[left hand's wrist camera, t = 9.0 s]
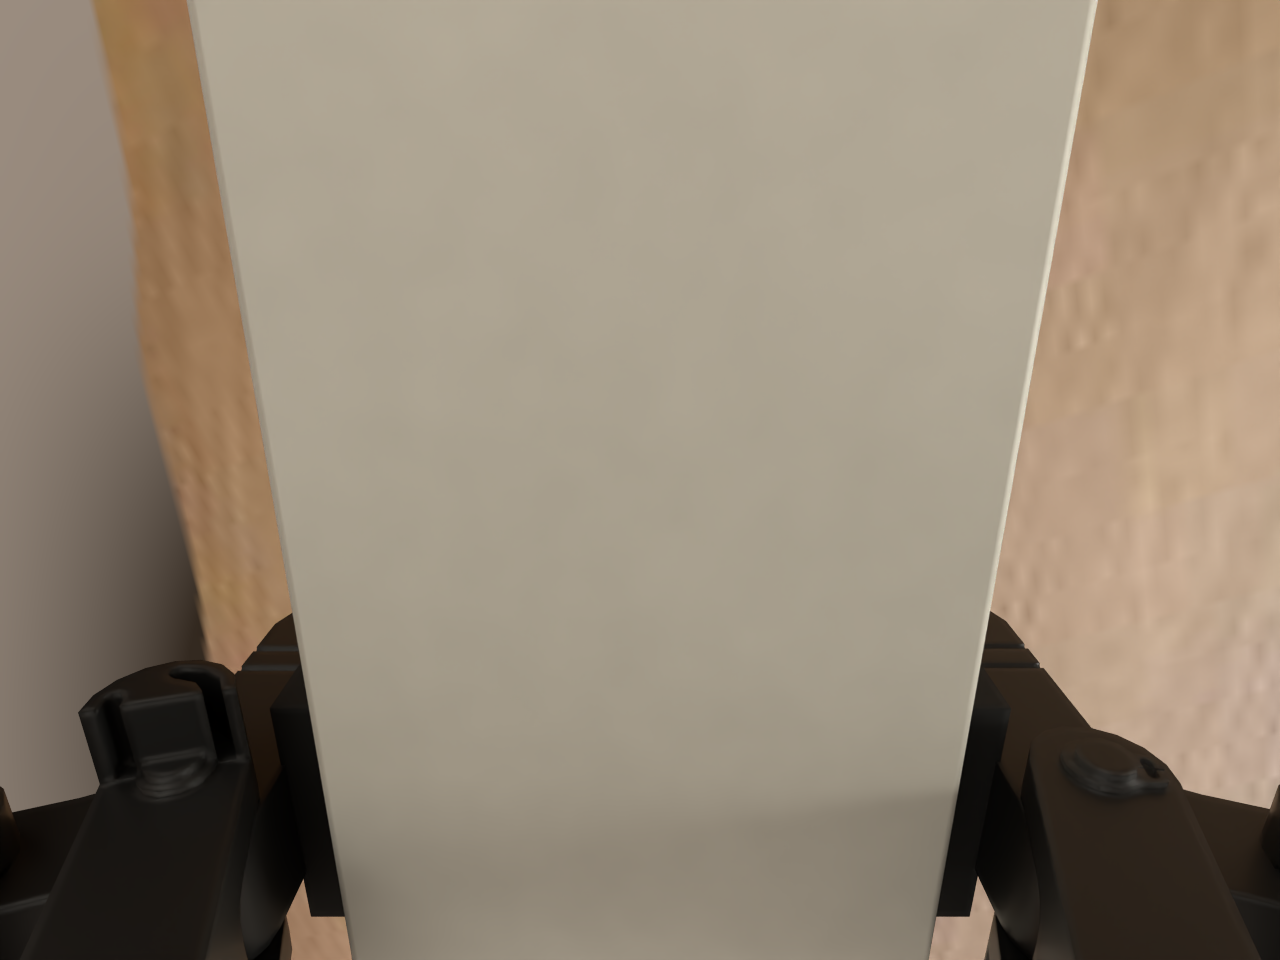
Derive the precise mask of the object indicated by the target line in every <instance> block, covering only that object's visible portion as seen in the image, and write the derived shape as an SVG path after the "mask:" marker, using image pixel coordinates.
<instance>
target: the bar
mask: <svg viewBox="0 0 1280 960" xmlns="http://www.w3.org/2000/svg"><path fill="white" fill-rule="evenodd" d="M1097 1H1098V0H187V4H188V10H189V16H190V22H191V28H192V33H193V39H194V45H195V51H196V57H197V62H198V68H199V74H200V80H201V86H202V91H203V97H204V103H205V109H206V115H207V120H208V126H209V132H210V138H211V143H212V149H213V155H214V161H215V167H216V172H217V178H218V184H219V190H220V196H221V201H222V207H223V213H224V219H225V225H226V230H227V236H228V242H229V248H230V254H231V259H232V265H233V271H234V277H235V283H236V288H237V294H238V300H239V306H240V311H241V317H242V323H243V329H244V335H245V340H246V346H247V352H248V358H249V364H250V369H251V375H252V381H253V387H254V393H255V398H256V404H257V410H258V416H259V422H260V427H261V433H262V439H263V445H264V450H265V456H266V462H267V468H268V474H269V479H270V485H271V491H272V497H273V503H274V508H275V514H276V520H277V526H278V532H279V537H280V543H281V549H282V555H283V561H284V566H285V572H286V578H287V584H288V590H289V595H290V601H291V607H292V613H293V618H294V624H295V630H296V636H297V642H298V647H299V653H300V659H301V665H302V671H303V676H304V682H305V688H306V694H307V700H308V705H309V711H310V717H311V723H312V729H313V734H314V740H315V746H316V752H317V758H318V763H319V769H320V775H321V781H322V786H323V792H324V798H325V804H326V810H327V815H328V821H329V827H330V833H331V839H332V844H333V850H334V856H335V862H336V868H337V873H338V879H339V885H340V891H341V897H342V902H343V908H344V914H345V920H346V925H347V931H348V937H349V943H350V949H351V954H352V960H929V954H930V948H931V943H932V937H933V931H934V926H935V920H936V914H937V909H938V903H939V897H940V892H941V886H942V880H943V875H944V869H945V863H946V858H947V852H948V846H949V841H950V835H951V829H952V824H953V818H954V812H955V807H956V801H957V795H958V790H959V784H960V778H961V773H962V767H963V761H964V756H965V750H966V744H967V739H968V733H969V727H970V722H971V716H972V710H973V705H974V699H975V693H976V688H977V682H978V676H979V670H980V665H981V659H982V653H983V648H984V642H985V636H986V631H987V625H988V619H989V614H990V608H991V602H992V597H993V591H994V585H995V580H996V574H997V568H998V563H999V557H1000V551H1001V546H1002V540H1003V534H1004V529H1005V523H1006V517H1007V512H1008V506H1009V500H1010V495H1011V489H1012V483H1013V478H1014V472H1015V466H1016V461H1017V455H1018V449H1019V444H1020V438H1021V432H1022V427H1023V421H1024V415H1025V410H1026V404H1027V398H1028V393H1029V387H1030V381H1031V376H1032V370H1033V364H1034V359H1035V353H1036V347H1037V342H1038V336H1039V330H1040V325H1041V319H1042V313H1043V308H1044V302H1045V296H1046V291H1047V285H1048V279H1049V274H1050V268H1051V262H1052V256H1053V251H1054V245H1055V239H1056V234H1057V228H1058V222H1059V217H1060V211H1061V205H1062V200H1063V194H1064V188H1065V183H1066V177H1067V171H1068V166H1069V160H1070V154H1071V149H1072V143H1073V137H1074V132H1075V126H1076V120H1077V115H1078V109H1079V103H1080V98H1081V92H1082V86H1083V81H1084V75H1085V69H1086V64H1087V58H1088V52H1089V47H1090V41H1091V35H1092V30H1093V24H1094V18H1095V13H1096V7H1097Z"/></svg>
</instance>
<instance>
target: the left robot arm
mask: <svg viewBox="0 0 1280 960" xmlns="http://www.w3.org/2000/svg"><path fill="white" fill-rule="evenodd" d="M78 714H79V717H80V720H81V723H82V726H83V730H84V733H85V737H86V740H87V743H88V746H89V750H90V753H91V756H92V759H93V763H94V766H95V769H96V773H97V776H98V779H99V783H100V785H99V788H98V790H97V792H96V794H93V795H89V796H86V797H82V798H77V799H73V800H68V801H64V802H59V803H54V804H50V805H45V806H40V807H36V808H31V809H26V810H22V811H17V812H12V811H11V808H10V805H9V803H8V800H7V797H6V794H5V792H4V789H3V788H2V787H0V960H291V953H292V946H291V938H290V931H289V926H288V922H287V917H286V914H287V912H288V910H289V908H290V906H291V904H292V902H293V900H294V898H295V895H296V893H297V891H298V889H299V887H300V885H301V883H302V881H303V878H304V883H305V888H306V893H307V898H308V903H309V908H310V913H311V917H345V914H344V908H343V902H342V897H341V891H340V885H339V879H338V873H337V868H336V862H335V856H334V850H333V844H332V839H331V833H330V827H329V821H328V815H327V810H326V804H325V798H324V792H323V786H322V781H321V775H320V769H319V763H318V758H317V752H316V746H315V740H314V734H313V729H312V723H311V717H310V711H309V705H308V700H307V694H306V688H305V682H304V676H303V671H302V665H301V659H300V653H299V647H298V642H297V636H296V630H295V624H294V618H293V613H291V614H290V615H288V616H287V617H285V618H284V619H282V620H281V621H279V622H277V623H276V624H275V625H274V626H273V627H272V629H271V630H270V631H269V632H268V634H267V635H266V636H265V637H264V639H263V640H262V641H261V642H260V644H259V645H258V646H257V651H253V653H252V654H251V655H250V656H249V658H248V659H247V660H246V661H245V663H244V664H243V665H242V670H241V671H237V673H236V674H235V675H234V673H232V672H231V671H230V670H229V669H227V668H226V667H225V666H224V665H222V664H218V663H213V662H209V661H203V660H192V661H175V662H170V663H166V664H162V665H157V666H153V667H149V668H145V669H142V670H140V671H138V672H135V673H133V674H130V675H128V676H126V677H123V678H121V679H118V680H116V681H115V682H113V683H112V684H110V685H109V686H107V687H106V688H104V689H103V690H101V691H99V692H98V693H96V694H95V695H93V696H92V697H91V699H90V700H89V701H88V702H87V703H86V704H85V705H84V706H83V708H82V709H81V710H80V711H79V712H78ZM977 877H979V879H980V881H981V883H982V886H983V888H984V890H985V892H986V894H987V896H988V898H989V900H990V902H991V904H992V907H993V909H994V911H995V912H994V917H993V922H992V926H991V931H990V936H989V940H988V945H987V950H986V954H985V959H984V960H1280V785H1279V786H1278V788H1277V791H1276V794H1275V797H1274V800H1273V802H1272V805H1271V808H1270V809H1267V808H1262V807H1257V806H1253V805H1248V804H1243V803H1239V802H1234V801H1229V800H1225V799H1220V798H1215V797H1210V796H1206V795H1201V794H1198V793H1194V792H1190V791H1187V790H1183V788H1182V786H1181V784H1180V782H1179V781H1178V780H1177V778H1176V777H1175V776H1174V774H1173V773H1172V772H1171V770H1170V769H1169V768H1168V766H1167V765H1166V764H1165V763H1163V762H1162V761H1161V760H1159V759H1158V758H1157V757H1155V756H1154V755H1153V754H1151V753H1150V752H1149V751H1147V750H1146V749H1145V748H1143V747H1141V746H1139V745H1137V744H1135V743H1133V742H1130V741H1128V740H1126V739H1124V738H1122V737H1120V736H1118V735H1115V734H1111V733H1107V732H1104V731H1100V730H1096V729H1092V728H1091V727H1090V726H1089V724H1088V723H1087V722H1086V721H1085V719H1084V718H1083V717H1082V716H1081V714H1080V713H1079V712H1078V711H1077V709H1076V708H1075V707H1074V706H1073V704H1072V703H1071V702H1070V701H1069V699H1068V698H1067V697H1066V696H1065V694H1064V693H1063V692H1062V691H1061V689H1060V688H1059V687H1058V686H1057V684H1056V683H1055V682H1054V681H1053V679H1052V678H1051V677H1050V676H1049V674H1048V673H1047V672H1046V671H1045V669H1044V668H1040V663H1039V662H1038V661H1037V659H1036V658H1035V657H1034V656H1033V654H1032V653H1031V652H1030V651H1029V649H1025V648H1024V643H1023V642H1022V641H1021V639H1020V638H1019V637H1018V636H1017V634H1016V633H1015V632H1014V631H1013V629H1012V628H1011V627H1010V626H1009V624H1008V623H1007V622H1006V621H1005V620H1003V619H1002V618H1000V617H999V616H997V615H995V614H994V613H992V612H991V611H990V614H989V619H988V625H987V631H986V636H985V642H984V648H983V653H982V659H981V665H980V670H979V676H978V682H977V688H976V693H975V699H974V705H973V710H972V716H971V722H970V727H969V733H968V739H967V744H966V750H965V756H964V761H963V767H962V773H961V778H960V784H959V790H958V795H957V801H956V807H955V812H954V818H953V824H952V829H951V835H950V841H949V846H948V852H947V858H946V863H945V869H944V875H943V880H942V886H941V892H940V897H939V903H938V909H937V914H936V917H970V912H971V907H972V902H973V897H974V892H975V887H976V882H977Z"/></svg>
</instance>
